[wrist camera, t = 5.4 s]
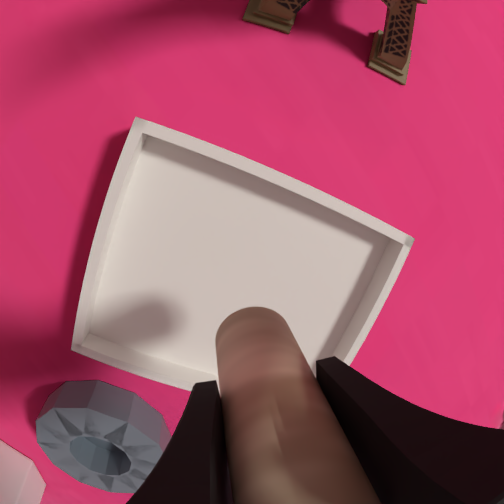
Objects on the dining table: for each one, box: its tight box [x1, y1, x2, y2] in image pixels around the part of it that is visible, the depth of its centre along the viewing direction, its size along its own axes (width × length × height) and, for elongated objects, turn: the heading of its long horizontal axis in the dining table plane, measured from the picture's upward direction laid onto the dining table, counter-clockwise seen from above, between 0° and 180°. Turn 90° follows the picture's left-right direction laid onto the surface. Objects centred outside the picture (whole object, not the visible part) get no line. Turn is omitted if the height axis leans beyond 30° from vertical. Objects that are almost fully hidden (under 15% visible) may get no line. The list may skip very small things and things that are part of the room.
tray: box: [71, 117, 415, 394], centre depth 17 cm, size 16×13×2 cm
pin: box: [215, 307, 381, 504], centre depth 8 cm, size 3×3×8 cm
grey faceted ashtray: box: [36, 380, 172, 493], centre depth 19 cm, size 10×10×3 cm
